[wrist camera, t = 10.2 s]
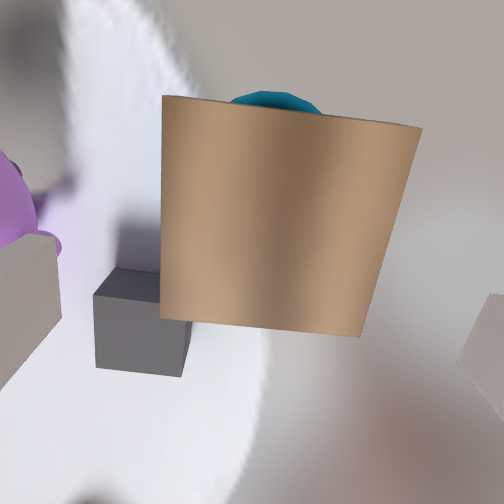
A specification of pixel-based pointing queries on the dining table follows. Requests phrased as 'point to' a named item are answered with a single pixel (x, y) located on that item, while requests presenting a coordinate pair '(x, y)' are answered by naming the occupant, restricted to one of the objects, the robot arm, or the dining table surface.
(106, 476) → the dining table surface
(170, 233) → the block
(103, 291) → the block
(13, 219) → the teapot
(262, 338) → the dining table surface
